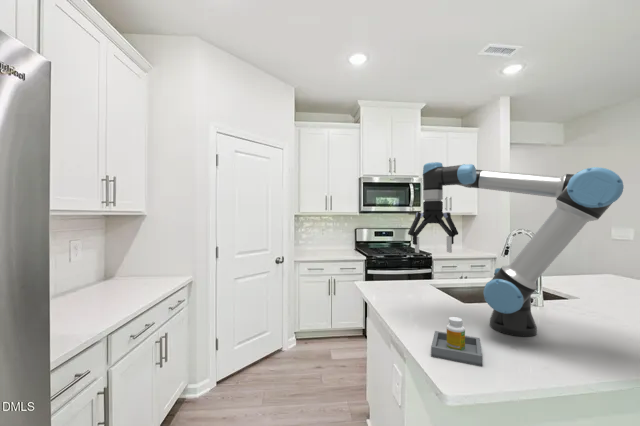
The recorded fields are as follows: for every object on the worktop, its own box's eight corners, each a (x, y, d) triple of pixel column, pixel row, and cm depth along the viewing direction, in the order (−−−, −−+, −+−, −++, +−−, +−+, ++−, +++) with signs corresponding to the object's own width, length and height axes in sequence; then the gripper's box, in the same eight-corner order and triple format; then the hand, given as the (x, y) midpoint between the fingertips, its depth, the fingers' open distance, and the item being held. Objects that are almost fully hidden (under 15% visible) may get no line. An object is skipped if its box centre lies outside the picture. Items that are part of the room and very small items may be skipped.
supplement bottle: (464, 354, 91) (463, 323, 91) (445, 350, 94) (445, 319, 94) (465, 347, 96) (465, 317, 96) (448, 343, 98) (447, 315, 98)
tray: (480, 347, 98) (479, 338, 98) (482, 366, 85) (482, 356, 85) (435, 339, 104) (435, 330, 104) (431, 356, 91) (431, 346, 91)
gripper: (457, 201, 125) (457, 250, 125) (400, 201, 123) (400, 251, 123) (467, 200, 118) (467, 253, 117) (406, 200, 116) (406, 254, 116)
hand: (433, 252), depth 120 cm, fingers open, 13 cm apart
